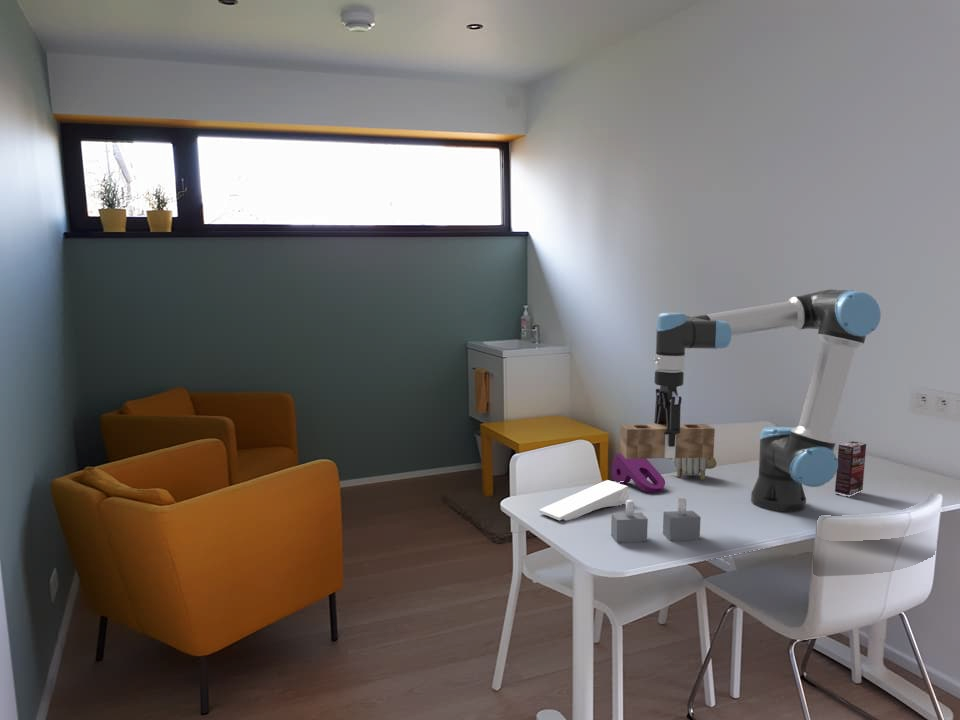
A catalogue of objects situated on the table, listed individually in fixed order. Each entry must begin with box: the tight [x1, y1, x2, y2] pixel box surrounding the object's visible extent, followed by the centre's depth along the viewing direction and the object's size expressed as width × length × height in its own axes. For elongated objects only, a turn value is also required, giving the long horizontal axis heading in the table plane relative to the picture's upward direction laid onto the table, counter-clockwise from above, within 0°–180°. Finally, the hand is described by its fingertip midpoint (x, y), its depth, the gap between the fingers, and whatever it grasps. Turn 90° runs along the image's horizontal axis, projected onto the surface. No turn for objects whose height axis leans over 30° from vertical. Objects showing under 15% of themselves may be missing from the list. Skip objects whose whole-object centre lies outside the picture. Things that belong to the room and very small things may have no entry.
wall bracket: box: [538, 479, 630, 522], centre depth 210 cm, size 10×7×28 cm
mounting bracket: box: [610, 452, 666, 494], centre depth 233 cm, size 9×8×18 cm
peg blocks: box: [610, 498, 701, 543], centre depth 187 cm, size 22×5×10 cm, turn 96°
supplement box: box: [834, 440, 867, 495], centre depth 223 cm, size 9×5×16 cm, turn 126°
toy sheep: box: [664, 456, 717, 481], centre depth 242 cm, size 11×17×11 cm, turn 70°
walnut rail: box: [619, 423, 716, 460], centre depth 195 cm, size 24×6×8 cm, turn 95°
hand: (665, 454), depth 196 cm, fingers closed on walnut rail, 6 cm apart
